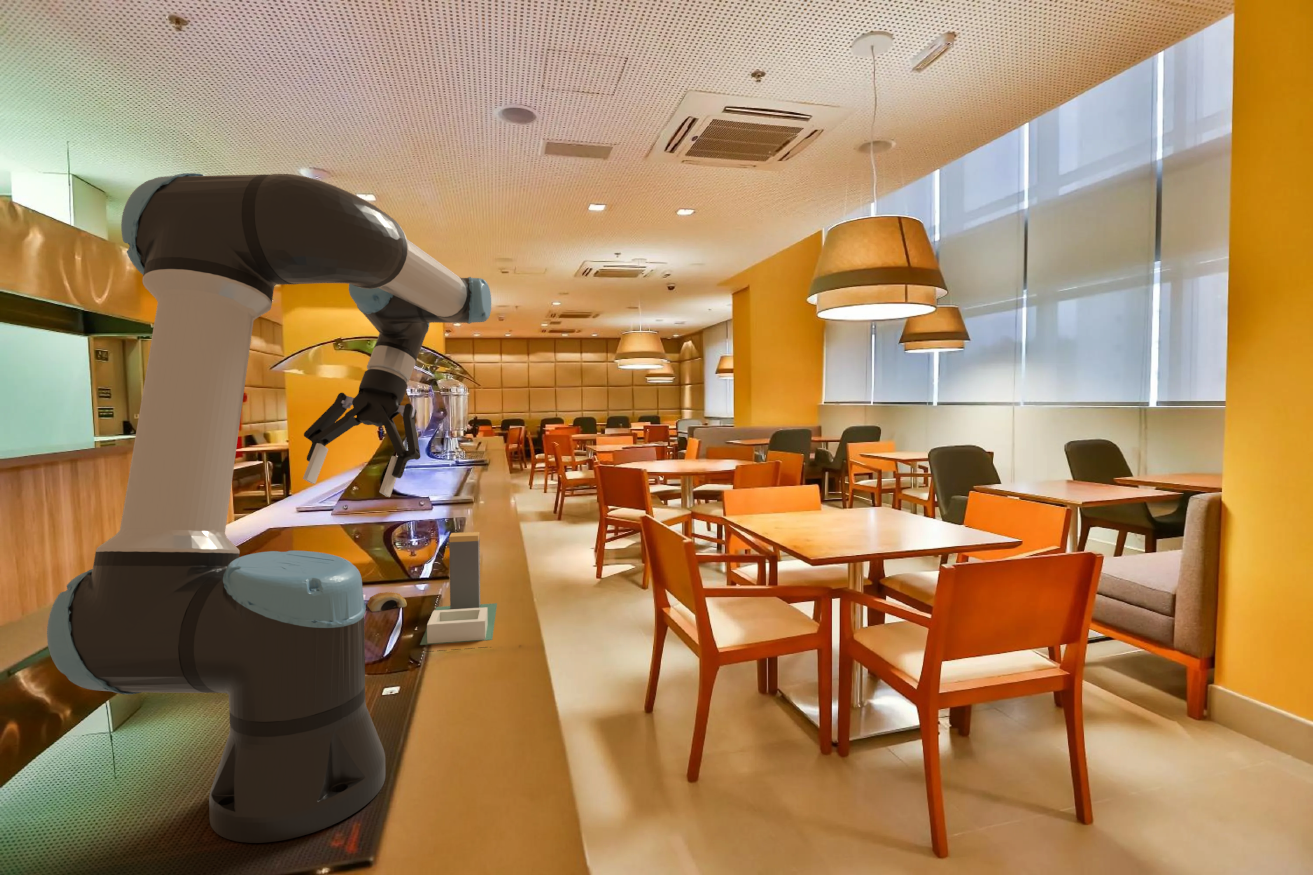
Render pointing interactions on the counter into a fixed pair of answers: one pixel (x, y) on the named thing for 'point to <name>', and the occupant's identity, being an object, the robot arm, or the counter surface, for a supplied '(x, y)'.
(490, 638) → the board
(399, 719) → the counter surface
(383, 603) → the pastry
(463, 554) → the plug
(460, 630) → the header
